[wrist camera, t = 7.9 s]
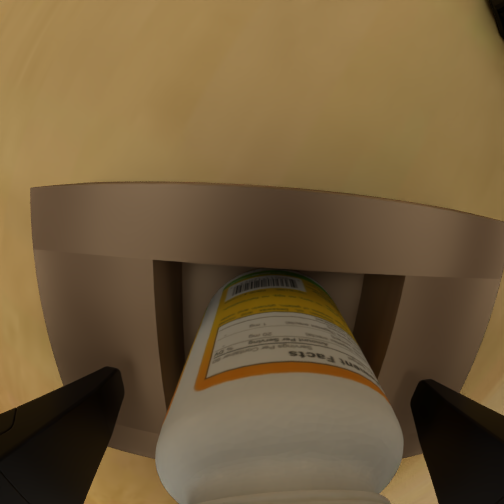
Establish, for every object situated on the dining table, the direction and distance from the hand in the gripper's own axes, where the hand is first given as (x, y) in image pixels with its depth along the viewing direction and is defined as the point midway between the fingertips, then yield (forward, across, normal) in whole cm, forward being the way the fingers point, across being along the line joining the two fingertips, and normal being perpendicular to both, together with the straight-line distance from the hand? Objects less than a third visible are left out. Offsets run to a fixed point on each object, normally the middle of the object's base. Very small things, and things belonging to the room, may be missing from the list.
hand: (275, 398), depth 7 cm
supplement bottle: (+4, 0, 0) cm, 4 cm away
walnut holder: (+5, 0, 0) cm, 5 cm away
